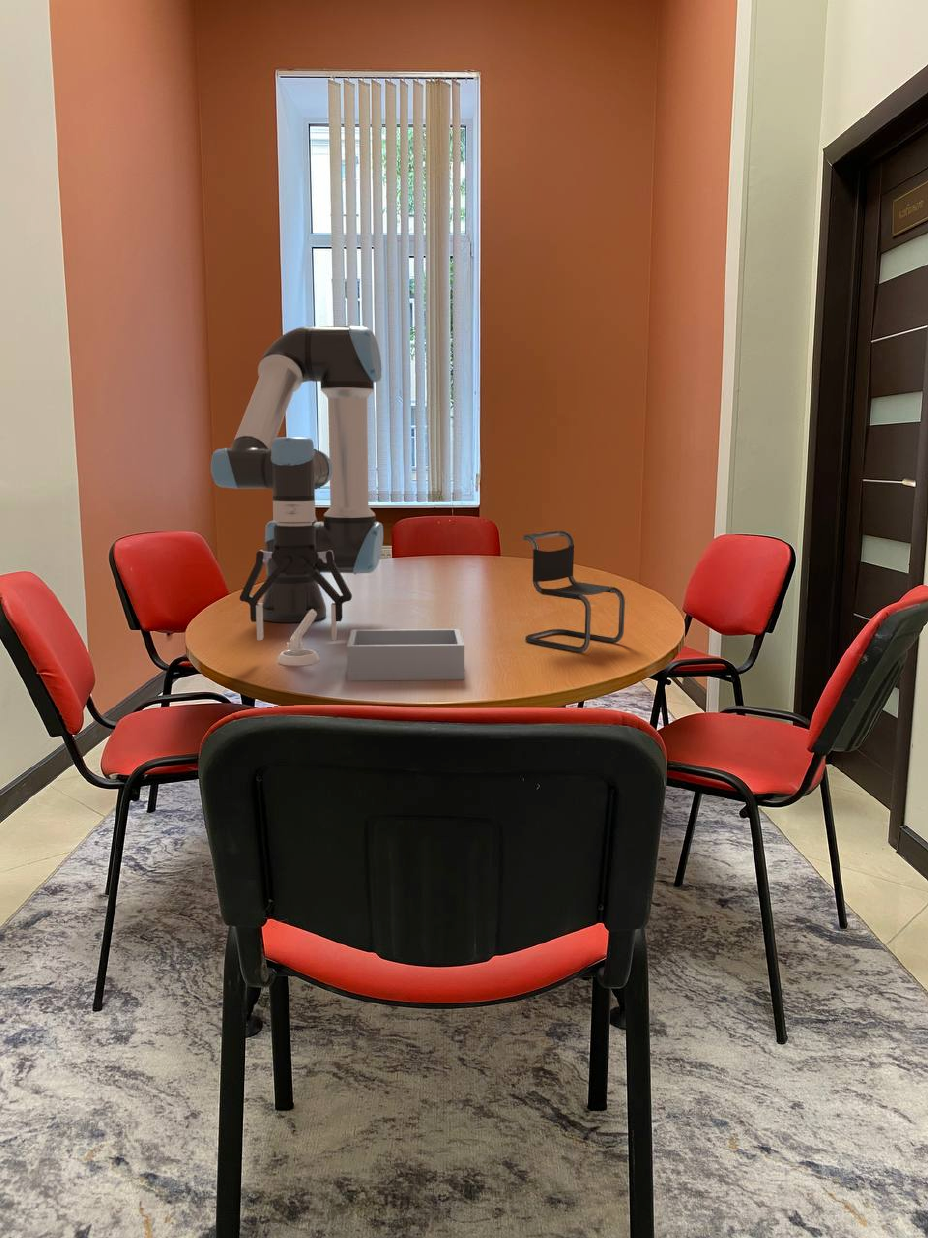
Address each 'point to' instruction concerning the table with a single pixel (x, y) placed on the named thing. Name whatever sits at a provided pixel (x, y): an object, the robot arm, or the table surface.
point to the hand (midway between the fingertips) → (297, 639)
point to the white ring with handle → (299, 646)
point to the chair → (567, 590)
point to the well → (405, 654)
